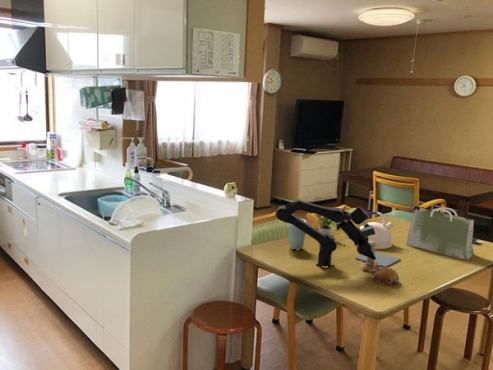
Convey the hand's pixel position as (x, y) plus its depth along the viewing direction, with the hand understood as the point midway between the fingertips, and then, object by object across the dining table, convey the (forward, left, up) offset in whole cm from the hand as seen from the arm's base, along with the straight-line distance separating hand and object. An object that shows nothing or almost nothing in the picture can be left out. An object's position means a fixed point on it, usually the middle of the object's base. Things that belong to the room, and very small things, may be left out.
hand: (374, 255), depth 203 cm
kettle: (+37, +20, -7) cm, 43 cm away
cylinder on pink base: (-1, +1, -7) cm, 7 cm away
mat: (+14, +5, -7) cm, 16 cm away
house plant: (+22, +43, -7) cm, 49 cm away
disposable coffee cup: (-4, +42, -7) cm, 43 cm away
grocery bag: (+56, -9, -7) cm, 57 cm away
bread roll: (-8, -11, -7) cm, 15 cm away
